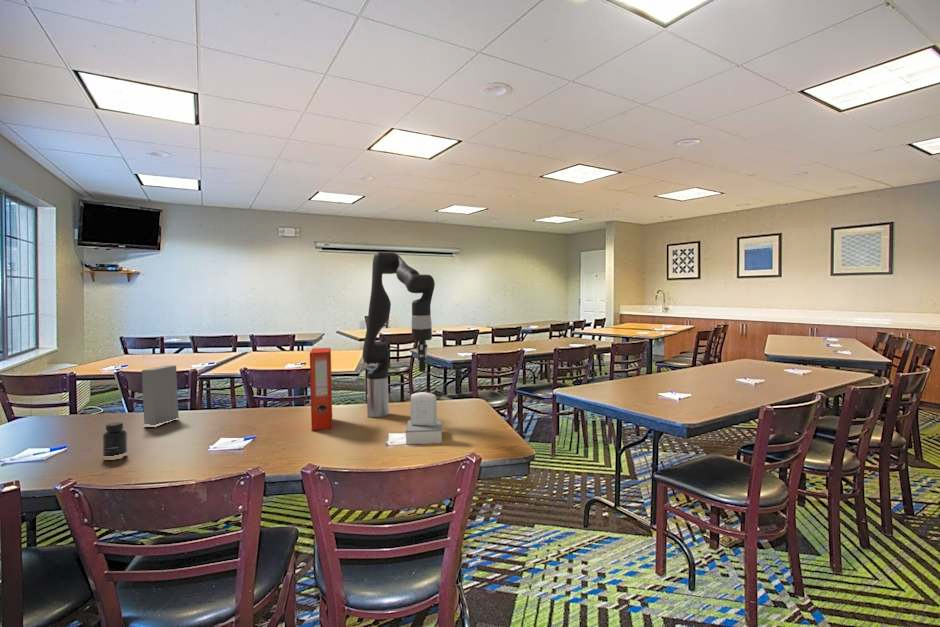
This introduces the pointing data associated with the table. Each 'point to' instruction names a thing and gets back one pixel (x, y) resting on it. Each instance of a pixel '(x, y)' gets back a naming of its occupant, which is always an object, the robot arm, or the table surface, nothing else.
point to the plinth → (423, 433)
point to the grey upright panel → (160, 394)
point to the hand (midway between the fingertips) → (422, 369)
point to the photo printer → (423, 409)
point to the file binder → (321, 388)
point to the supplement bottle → (114, 440)
